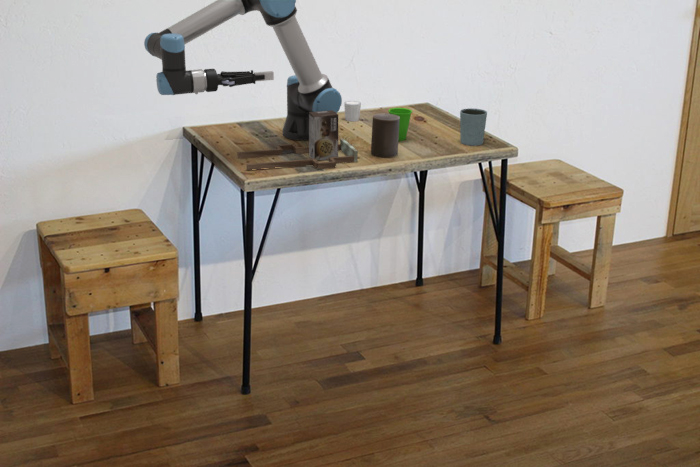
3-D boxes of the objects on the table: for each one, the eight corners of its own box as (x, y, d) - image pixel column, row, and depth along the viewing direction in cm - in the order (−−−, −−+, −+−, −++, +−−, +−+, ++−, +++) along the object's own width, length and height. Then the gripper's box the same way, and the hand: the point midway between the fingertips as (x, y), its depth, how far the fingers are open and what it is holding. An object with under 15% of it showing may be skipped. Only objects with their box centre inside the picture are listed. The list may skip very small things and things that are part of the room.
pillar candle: (375, 158, 322) (377, 117, 317) (367, 150, 331) (369, 110, 325) (401, 157, 325) (404, 116, 319) (392, 149, 334) (395, 109, 328)
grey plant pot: (469, 147, 337) (472, 116, 333) (452, 140, 345) (454, 109, 341) (490, 143, 343) (493, 112, 338) (472, 137, 350) (475, 106, 346)
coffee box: (332, 153, 326) (333, 109, 320) (338, 159, 321) (339, 114, 315) (308, 155, 323) (308, 111, 317) (313, 161, 318) (314, 116, 312)
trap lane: (234, 153, 323) (234, 142, 322) (339, 145, 336) (339, 135, 334) (250, 175, 302) (250, 163, 301) (361, 165, 314) (362, 154, 313)
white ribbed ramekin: (363, 119, 371) (364, 102, 369) (354, 122, 366) (355, 105, 363) (349, 116, 375) (349, 99, 372) (340, 120, 369) (340, 103, 367)
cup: (409, 143, 341) (410, 114, 337) (385, 141, 342) (386, 112, 338) (412, 136, 349) (413, 108, 345) (389, 134, 351) (390, 106, 347)
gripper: (201, 87, 309) (268, 82, 317) (209, 96, 298) (278, 90, 306) (199, 65, 307) (267, 60, 314) (207, 73, 295) (278, 68, 303)
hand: (272, 75), depth 310 cm, fingers closed
